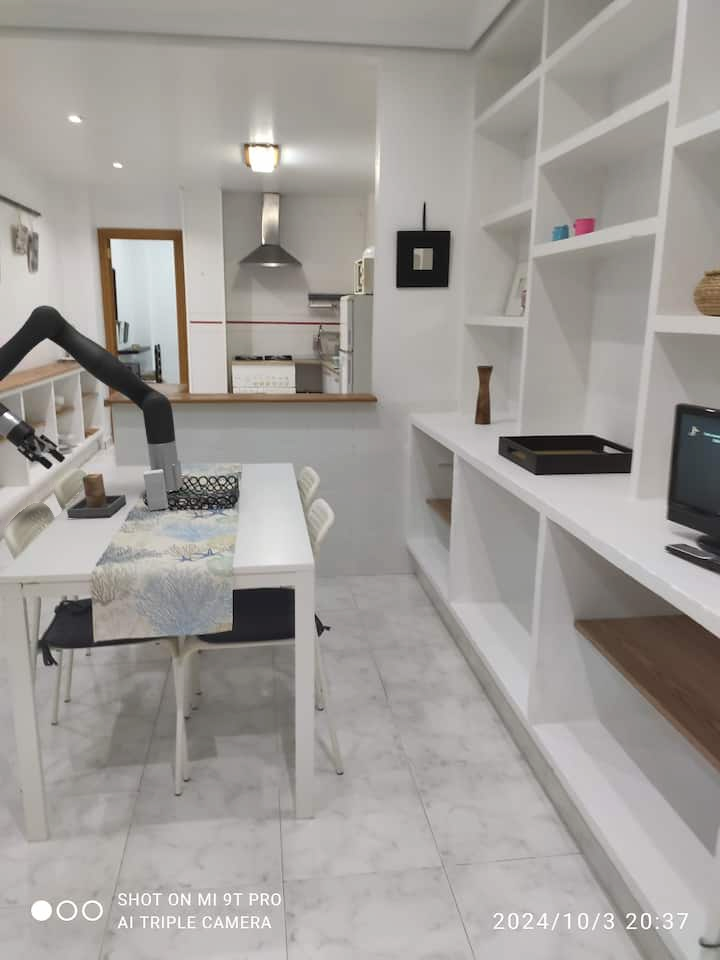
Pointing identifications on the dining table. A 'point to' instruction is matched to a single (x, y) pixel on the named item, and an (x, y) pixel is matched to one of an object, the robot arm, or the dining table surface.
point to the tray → (83, 512)
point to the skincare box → (155, 489)
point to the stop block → (94, 491)
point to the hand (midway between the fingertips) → (57, 463)
